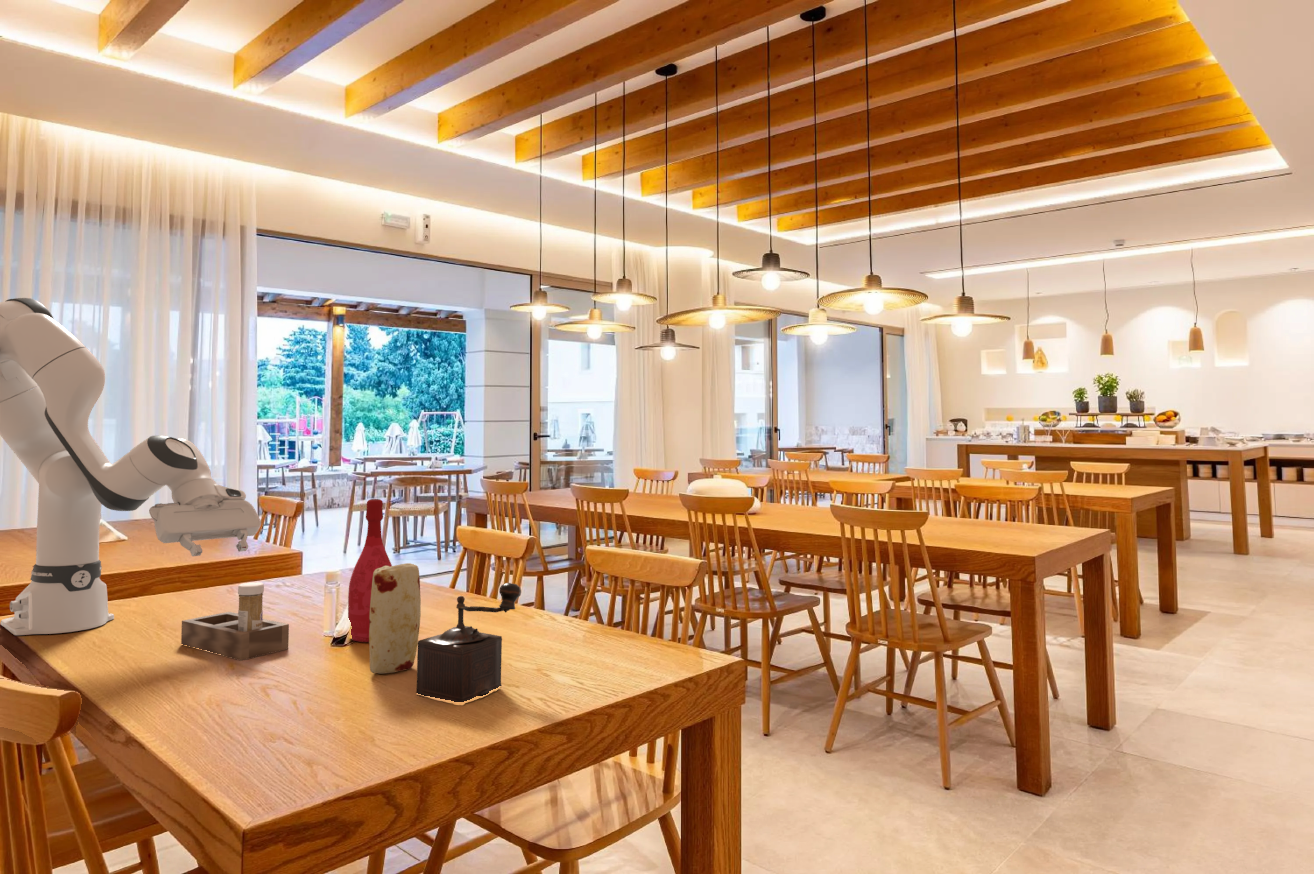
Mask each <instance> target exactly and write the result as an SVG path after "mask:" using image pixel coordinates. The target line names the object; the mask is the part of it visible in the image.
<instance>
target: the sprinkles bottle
mask: <svg viewBox="0 0 1314 874" xmlns="http://www.w3.org/2000/svg"><path fill="white" fill-rule="evenodd" d="M264 587H265V585H264V583H263V582H257V581H256V582H244V583H240V584H238V586H237V594H238V610H237V611H238V630H239V631H243V632H246V631H251V630H255V629H260V628H262V621H263V619H264V618H263V616H264V615H263V612H264V611H263V598H264V597H263V595H264V592H265V588H264Z"/></svg>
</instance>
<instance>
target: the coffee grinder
mask: <svg viewBox="0 0 1314 874" xmlns="http://www.w3.org/2000/svg"><path fill="white" fill-rule="evenodd" d="M499 594H500V596H501V603H500V604H499V605H498V607H487V606H473V605H472V606H467V605H466V604H465V603H464V602H465V600H466V598H465V596H462V595H458V596H457V599H456V602H457V604H456V609H457V610H458V611H457V613H458V614H457V616H458V617H457V618H458V619H457V625H456V626H454V627H451V628H449V629H447V630H444V632H442V633H441V634H437V635H434V636H429V637H425V638H423V639H420V640H419V639H418V644H417V653H416V655H417V656H416V657H417V658H416V662H417V663H416V692H415V694H416V693H418V694H421V695H424V696H430V697H435V698H440V699H445V700H451V701H454V702H464V701H467V700H470V699H472V698H474V697H476V696H483V695H486V694H488V693H489V691H491V690H493V689H496V688H498V687H499V686H502V654H503V653H502V652H503V651H502V649H503V648H502V647H503V644H502V643H503V637H502V636H501V635H497V634H492V633H491V634H490V633H485V632H480V631H479V629H478V628H474V627H473V626H471V625H470V626H468V625H465V623H464V613H465V612H464V611H466V612H483V613H485V612H486V613H499V612H504V613H508V611H509V612H510V610H514V611H515V610H516V606H515V605H516V604H515V603H516V601H517V600H518V599H519V597H520V596H521V594H522V589H521V587H520V585H518V584H516V583H512V582H506V583H504V584H501V586H500V587H499ZM502 687H503V686H502Z"/></svg>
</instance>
